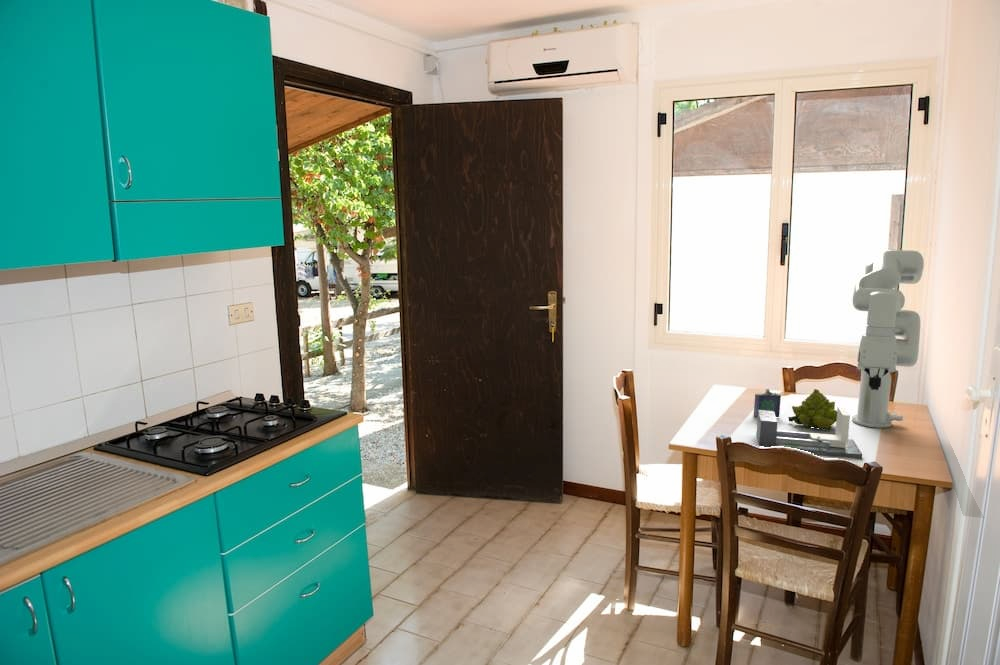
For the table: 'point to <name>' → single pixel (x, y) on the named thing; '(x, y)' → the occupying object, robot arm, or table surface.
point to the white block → (836, 431)
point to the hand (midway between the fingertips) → (874, 388)
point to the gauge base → (798, 439)
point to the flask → (767, 402)
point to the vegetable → (815, 412)
